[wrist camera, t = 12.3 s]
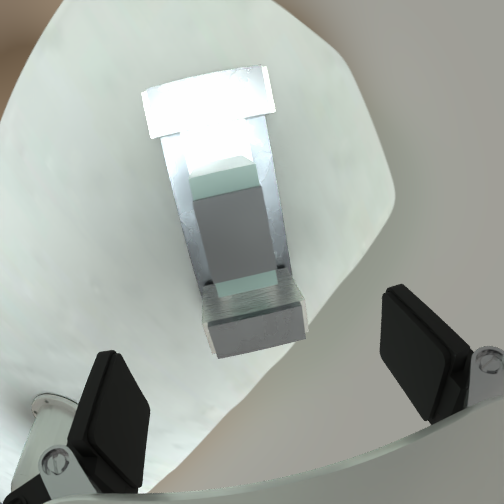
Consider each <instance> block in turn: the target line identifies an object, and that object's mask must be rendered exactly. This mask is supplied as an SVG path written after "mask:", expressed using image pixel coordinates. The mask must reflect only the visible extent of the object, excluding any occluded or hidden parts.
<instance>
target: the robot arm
mask: <svg viewBox="0 0 504 504" xmlns="http://www.w3.org/2000/svg"><path fill="white" fill-rule="evenodd" d="M381 321H382V322H381V339H380V355H381V358H382V360H383V361H384V363H385V364H386V366H387V367H388V369H389V370H390V371H391V373H392V374H393V376H394V377H395V379H396V380H397V382H398V383H399V385H400V386H401V387H402V389H403V390H404V392H405V393H406V395H407V396H408V398H409V399H410V400H411V402H412V404H413V405H414V407H415V408H416V410H417V411H418V413H419V414H420V416H421V417H422V418H423V420H424V421H427V420H428V421H429V422H430V424H431V426H429V427H427V428H425V429H423V430H420V431H418V432H416V433H414V434H411V435H409V436H407V437H405V438H402V439H400V440H398V441H395V442H393V443H390V444H388V445H385V446H383V447H381V448H378V449H376V450H373V451H370V452H367V453H364V454H362V455H359V456H356V457H353V458H350V459H347V460H344V461H341V462H338V463H335V464H331V465H328V466H325V467H322V468H318V469H314V470H311V471H307V472H303V473H299V474H295V475H291V476H286V477H282V478H277V479H273V480H268V481H263V482H257V483H252V484H246V485H240V486H233V487H226V488H219V489H210V490H202V491H189V492H174V493H153V494H152V493H148V494H138V488H140V487H141V486H142V481H143V470H144V460H145V451H146V442H147V433H148V425H149V418H150V407H149V404H148V402H147V400H146V399H145V397H144V395H143V394H142V392H141V390H140V388H139V387H138V385H137V383H136V381H135V379H134V378H133V376H132V374H131V372H130V370H129V368H128V367H127V365H126V363H125V361H124V359H123V357H122V355H121V354H119V353H118V354H117V353H116V352H115V351H114V350H110V351H103V352H99V353H98V354H97V357H96V359H95V362H94V364H93V367H92V369H91V372H90V375H89V377H88V380H87V382H86V385H85V388H84V391H83V393H82V396H81V399H80V402H79V404H78V405H77V404H76V403H74V402H72V401H70V400H68V399H66V398H63V397H60V396H57V395H51V394H43V395H39V396H37V397H36V398H35V399H34V401H33V403H32V412H33V415H34V417H35V418H36V419H35V421H34V424H33V426H32V428H31V431H30V433H29V436H28V438H27V441H26V443H25V446H24V449H23V451H22V454H21V457H20V459H19V462H18V465H17V468H16V470H15V473H14V476H13V479H12V483H11V493H10V494H9V495H8V496H6V498H5V500H4V502H3V504H504V351H503V350H501V349H499V348H497V347H493V346H484V347H481V348H479V349H477V350H476V351H475V352H473V351H472V350H471V349H470V346H469V345H468V344H467V343H466V342H465V341H464V340H463V339H462V338H460V336H459V335H458V334H456V332H454V331H453V330H452V329H451V328H450V327H449V326H448V325H447V324H446V323H445V322H444V321H443V320H442V319H441V318H440V317H439V316H438V315H436V314H435V313H434V312H433V311H432V310H431V309H430V308H429V307H428V306H427V305H426V304H424V303H423V302H422V301H421V300H420V299H419V298H418V297H417V296H416V295H414V294H413V293H412V292H411V291H410V290H409V289H408V288H407V287H405V286H404V285H403V284H399V285H396V286H392V287H389V288H387V290H386V293H384V294H383V296H382V319H381Z"/></svg>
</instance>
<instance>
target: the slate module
mask: <svg viewBox="0 0 504 504" xmlns="http://www.w3.org/2000/svg"><path fill="white" fill-rule="evenodd" d="M188 180H189V184H190V188H191V192H192V196H193V201H192V204H193V208H194V212H195V216H196V219H197V223H198V227H199V231H200V235H201V239H202V243H203V247H204V250H205V254H206V258H207V262H208V265H209V269H210V273H211V276H212V280H213V284H215V285H216V289H217V292H218V296H219V298H220V297H225V296H229V295H233V294H238V293H242V292H247V291H251V290H255V289H260V288H264V287H268V286H272V285H276V284H278V281H277V276H276V270H277V266H276V260H275V255H274V249H273V243H272V238H271V232H270V227H269V221H268V216H267V211H266V205H265V200H264V195H263V189H262V186H261V185H260V183H259V178H258V173H257V168H256V163H254V162H252V161H251V160H249V159H248V158H246V157H245V156H243V155H239V156H234V157H229V158H225V159H220V160H216V161H211V162H207V163H203V164H198V165H195V166H194V168H193V170H192V172H191V174H190V176H189V178H188Z"/></svg>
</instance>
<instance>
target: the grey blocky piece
mask: <svg viewBox="0 0 504 504" xmlns="http://www.w3.org/2000/svg"><path fill="white" fill-rule="evenodd" d="M142 98H143V103H144V108H145V113H146V118H147V122H148V127H149V132H150V136H151V138H160V139H161V144H162V148H163V152H164V157H165V161H166V165H167V170H168V174H169V178H170V182H171V186H172V190H173V194H174V198H175V202H176V206H177V210H178V214H179V218H180V221H181V225H182V229H183V233H184V236H185V240H186V244H187V247H188V251H189V255H190V258H191V262H192V265H193V269H194V272H195V276H196V279H197V282H198V286H199V289H200V293H201V296H202V325H203V328H204V331H205V334H206V337H207V340H208V343H209V346H210V349H211V352H212V354H215V353H216V354H217V357H218V359H220V358H225V357H230V356H235V355H240V354H244V353H249V352H253V351H258V350H262V349H266V348H271V347H275V346H279V345H283V344H287V343H291V342H295V341H299V340H303V339H306V337H305V333H306V332H309V330H308V321H307V313H306V305H305V299H304V297H303V296H302V294H301V292H300V290H299V288H298V287H297V285H296V283H295V281H294V279H293V278H292V273H291V266H290V259H289V253H288V246H287V240H286V234H285V227H284V221H283V215H282V209H281V203H280V197H279V191H278V185H277V180H276V174H275V168H274V163H273V157H272V152H271V146H270V141H269V135H268V130H267V125H266V120H265V115H267V114H270V113H273V112H275V107H274V101H273V96H272V91H271V86H270V81H269V77H268V72H267V67H262V66H261V65H255V66H248V67H241V68H235V69H229V70H224V71H218V72H213V73H208V74H203V75H199V76H194V77H190V78H185V79H181V80H177V81H173V82H169V83H165V84H162V85H158V86H154V87H151V88H147V89H146V92H143V93H142ZM239 155H243V156H245V157H246V158H248V159H249V160H251V161H252V162H254V163H256V168H257V173H258V178H259V183H260V185H261V186H262V189H263V195H264V200H265V205H266V211H267V216H268V221H269V227H270V232H271V238H272V243H273V249H274V255H275V260H276V266H277V270H276V276H277V281H278V284H276V285H272V286H268V287H264V288H260V289H255V290H251V291H247V292H242V293H238V294H233V295H229V296H225V297H220V298H219V296H218V292H217V289H216V285H215V284H213V280H212V276H211V273H210V269H209V265H208V262H207V258H206V254H205V250H204V247H203V243H202V239H201V235H200V231H199V227H198V223H197V219H196V216H195V212H194V208H193V204H192V201H193V196H192V192H191V188H190V184H189V180H188V178H189V176H190V174H191V172H192V170H193V168H194V166H195V165H198V164H203V163H207V162H211V161H216V160H220V159H225V158H229V157H234V156H239Z"/></svg>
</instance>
